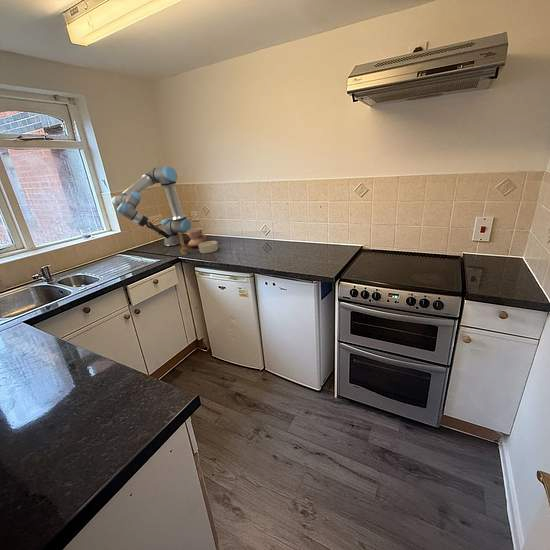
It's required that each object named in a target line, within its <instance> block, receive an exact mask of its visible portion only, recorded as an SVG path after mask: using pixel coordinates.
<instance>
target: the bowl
mask: <svg viewBox="0 0 550 550" xmlns="http://www.w3.org/2000/svg"><path fill="white" fill-rule="evenodd" d="M197 249H198V252H199V253H200V254H205V255H206V254H212V253H215V252H217V251H218V250H219V243H218V241H216V240H206V242H203V243H200V244H198V247H197Z"/></svg>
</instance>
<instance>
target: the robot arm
mask: <svg viewBox="0 0 550 550" xmlns="http://www.w3.org/2000/svg"><path fill="white" fill-rule="evenodd" d="M177 180H178V173H177V171H176V170H175V168H173V167H172V166H169V165H168V166H167V165H166V166H165V165H164V166H159V167H153V168H151V169H149V170H148V171H146V172H145V173H144V174H143V175H141V178H139V179H138V180H136V181H135V182H134V183H133V184H132V185H130V186H129V187H128V188H126V189H125V190H124V191H122V192H121V193H120V194H118V195H114V196H113V197H112V199H111V203H112V205H113V206H114V207H117V209H116V212H117V213H118V214H119V215H121V216H122V217H125V218H127V219H128V220H130V221H132V223H133V224H134V223H135V224H137V225H139V226H140V227H142V228H143V227H145V226H146V228H148V229H150V230H152V231H154V232H156V233H158V235H159V236H160V235H161V236H162V237H164V239H163V246H164V247H177V246H179V245H181V243H180V238H179V233H182V234H187V231H188V230H190V229H192V222H191V220H190V219H189V218H187V216H186V214H184V212H183V209H182V205H181V202H180V199H179V194H178V190H177V188H176V184H177ZM156 184H160V186H161V187H162V188H163V190H164V192H165V195H166V198H167V201H168V205H169V209H170V211H171V214H172V217H168V218H164V219H161V220H160V225H161V228H159V226H156V225H155V224H153V223H152V222H150V221H149V218H148V217H147V216H146V215H143V214H142V213H141V212H139V211H138V210H137V207H138V206H139V204H140V203H141V200H142V195H141V193H142V192H143V191H145V190H146V189H147V188H149V187H152V186H153V185H156Z"/></svg>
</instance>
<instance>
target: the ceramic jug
mask: <svg viewBox="0 0 550 550" xmlns="http://www.w3.org/2000/svg"><path fill="white" fill-rule="evenodd" d="M186 236H188V237H189V238H190V239H189V241H188V243H187V245H188V247H189V248H193V249H195V248H196V249H198V244H200V243H203V242H207V235H206V234H205V232H204V233H203V228H201V227H197V228H190V230H188V231H187V233H186ZM202 236H203V238H202Z"/></svg>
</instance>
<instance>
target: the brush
mask: <svg viewBox="0 0 550 550" xmlns="http://www.w3.org/2000/svg"><path fill="white" fill-rule="evenodd" d="M178 235H179V238H180V243H181V244H180V246H181V248H180V253H181V255H188V254H189V249H188V248H187V247H186V245H185V241H184V236H183V233H178Z"/></svg>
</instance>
